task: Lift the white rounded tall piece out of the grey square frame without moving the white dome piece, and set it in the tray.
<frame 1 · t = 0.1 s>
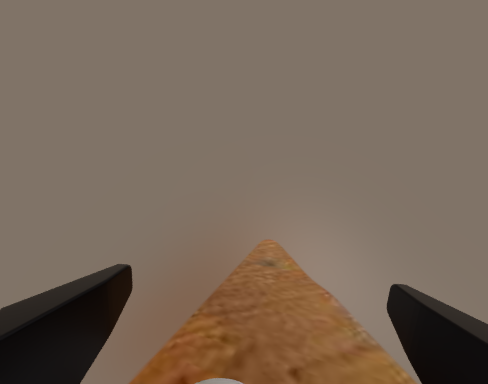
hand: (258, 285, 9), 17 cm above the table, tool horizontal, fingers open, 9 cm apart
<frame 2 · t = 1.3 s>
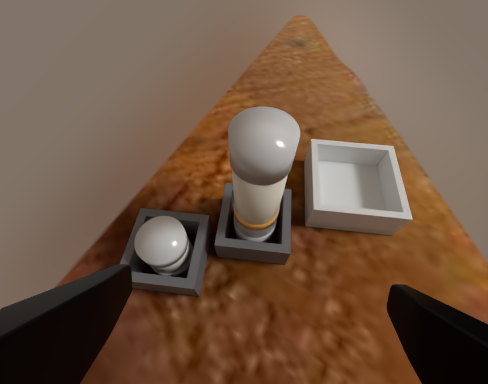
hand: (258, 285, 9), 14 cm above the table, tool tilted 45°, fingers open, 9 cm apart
white dome piece: (167, 248, 21), in the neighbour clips
grey square frame: (254, 229, 24), on the table
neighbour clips: (173, 256, 23), on the table
tray: (343, 194, 27), on the table
white rounded tall piece: (257, 194, 19), in the grey square frame
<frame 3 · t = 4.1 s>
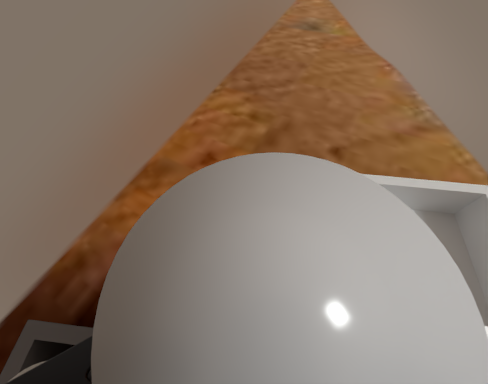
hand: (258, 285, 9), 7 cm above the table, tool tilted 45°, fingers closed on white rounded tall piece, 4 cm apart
tray: (402, 265, 16), on the table
white rounded tall piece: (256, 332, 8), in the grey square frame, touching gripper
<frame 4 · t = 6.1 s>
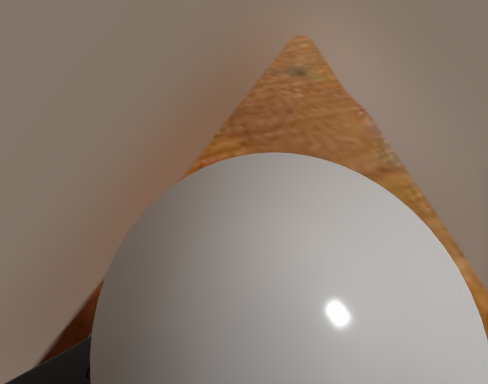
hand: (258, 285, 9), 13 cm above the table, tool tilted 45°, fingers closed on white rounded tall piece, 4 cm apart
white rounded tall piece: (256, 332, 8), point 12 cm above the table, touching gripper
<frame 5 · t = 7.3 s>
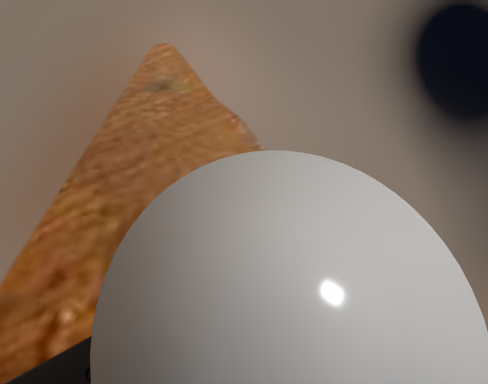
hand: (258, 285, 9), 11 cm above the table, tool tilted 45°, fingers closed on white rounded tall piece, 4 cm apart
white rounded tall piece: (256, 331, 8), point 11 cm above the table, touching gripper
when the fingers open (9 cm above the table, at t = 8.1 s): white rounded tall piece stays where it is, resting on tray.
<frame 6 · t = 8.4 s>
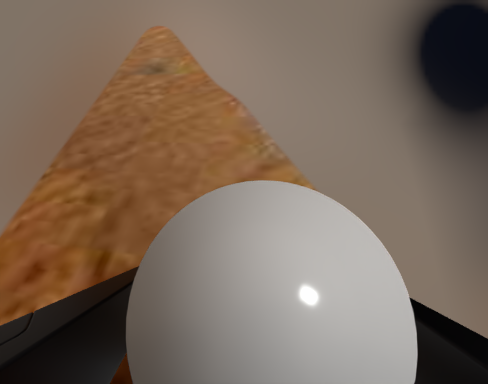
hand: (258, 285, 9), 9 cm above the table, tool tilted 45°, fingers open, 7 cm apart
white rounded tall piece: (253, 330, 9), in the tray, point 8 cm above the table
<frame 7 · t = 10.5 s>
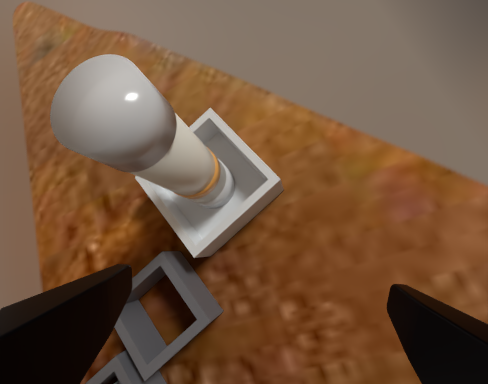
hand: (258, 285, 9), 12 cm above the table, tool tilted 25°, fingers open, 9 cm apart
grey square frame: (173, 304, 21), on the table
tray: (217, 188, 22), on the table
white rounded tall piece: (178, 161, 15), in the tray, point 8 cm above the table
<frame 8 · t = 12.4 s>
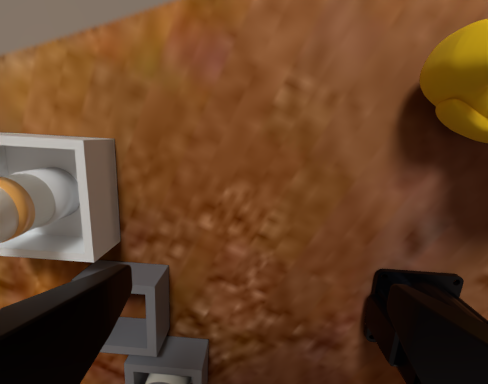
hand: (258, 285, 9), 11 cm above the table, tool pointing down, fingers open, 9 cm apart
grey square frame: (134, 294, 22), on the table
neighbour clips: (174, 364, 23), on the table
tray: (66, 189, 20), on the table
duckling: (468, 101, 17), on the table
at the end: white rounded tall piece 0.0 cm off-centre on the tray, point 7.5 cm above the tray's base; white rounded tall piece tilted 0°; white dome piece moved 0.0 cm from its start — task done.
